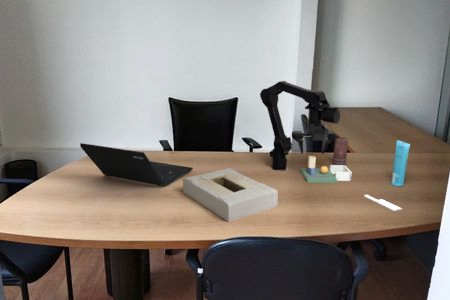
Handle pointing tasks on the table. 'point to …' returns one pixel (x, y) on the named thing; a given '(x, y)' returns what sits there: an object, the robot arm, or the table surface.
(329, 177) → the panel
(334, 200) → the table surface
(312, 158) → the beige and blue block
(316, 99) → the robot arm
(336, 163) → the can
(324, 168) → the ball
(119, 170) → the laptop
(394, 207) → the white plastic strip tool
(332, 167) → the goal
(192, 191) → the box
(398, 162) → the tube
